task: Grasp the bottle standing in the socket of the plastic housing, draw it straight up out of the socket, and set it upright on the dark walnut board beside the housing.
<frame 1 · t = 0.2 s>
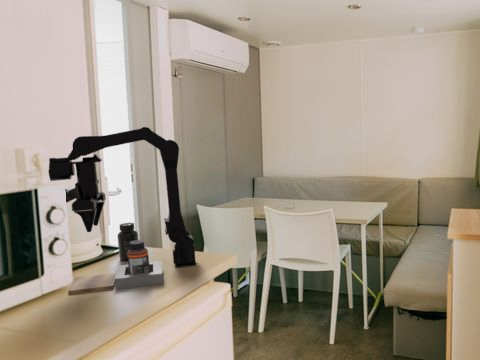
hand: (92, 228, 145), 14 cm above the kitchen counter, fingers open, 9 cm apart
supplement bottle: (130, 258, 162), on the kitchen counter
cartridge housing: (140, 279, 139), on the kitchen counter
walnut board: (94, 284, 136), on the kitchen counter
supplement bottle 2: (140, 280, 139), resting in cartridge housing
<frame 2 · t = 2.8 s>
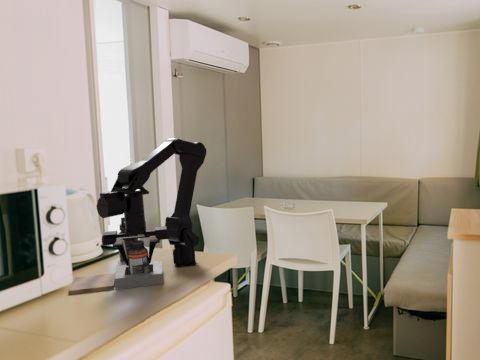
hand: (138, 264, 138), 5 cm above the kitchen counter, fingers closed on supplement bottle 2, 6 cm apart
supplement bottle 2: (140, 280, 139), resting in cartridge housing, touching gripper
everything else where it was.
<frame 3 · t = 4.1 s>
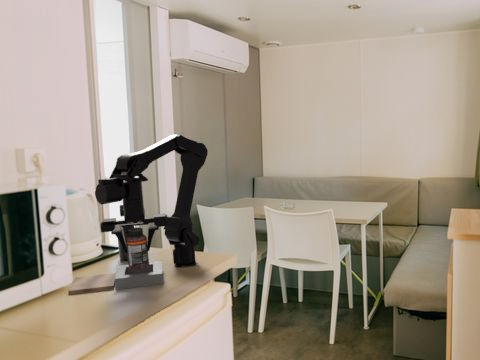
hand: (137, 251, 138), 8 cm above the kitchen counter, fingers closed on supplement bottle 2, 6 cm apart
supplement bottle 2: (139, 267, 138), point 4 cm above the kitchen counter, touching gripper
everything else where it was.
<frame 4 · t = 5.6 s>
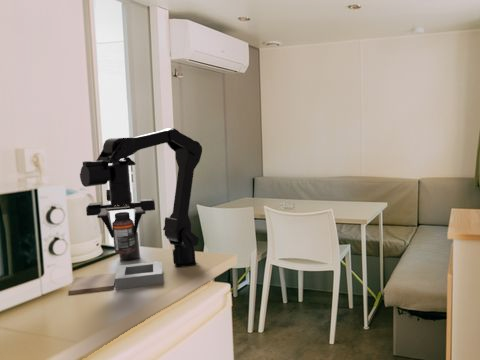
hand: (123, 236, 136), 13 cm above the kitchen counter, fingers closed on supplement bottle 2, 6 cm apart
supplement bottle 2: (125, 252, 137), point 9 cm above the kitchen counter, touching gripper
everything else where it was.
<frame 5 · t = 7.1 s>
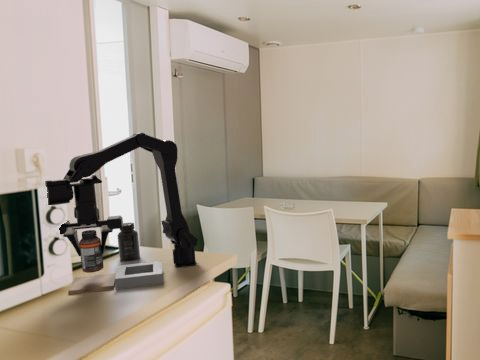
hand: (91, 254, 135), 9 cm above the kitchen counter, fingers closed on supplement bottle 2, 6 cm apart
supplement bottle 2: (93, 270, 136), point 4 cm above the kitchen counter, touching gripper
everything else where it was.
when the fingers open (6 cm above the kitchen counter, at t = 8.5 s): supplement bottle 2 stays where it is, resting on walnut board.
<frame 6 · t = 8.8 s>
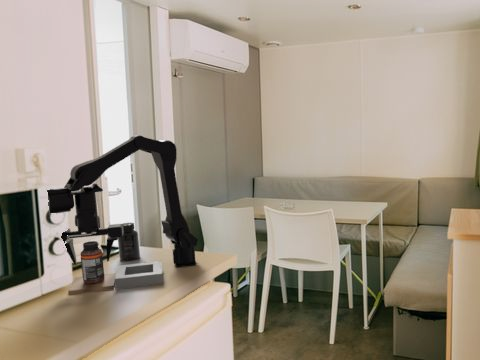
hand: (91, 262, 136), 6 cm above the kitchen counter, fingers open, 9 cm apart
supplement bottle 2: (94, 281, 136), point 1 cm above the kitchen counter, touching walnut board
everything else where it was.
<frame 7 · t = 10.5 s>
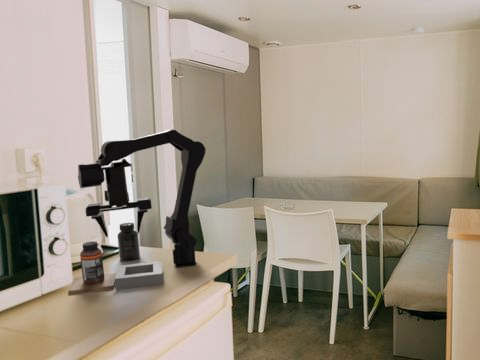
hand: (122, 234, 142), 12 cm above the kitchen counter, fingers open, 9 cm apart
nothing on the kitchen counter moved.
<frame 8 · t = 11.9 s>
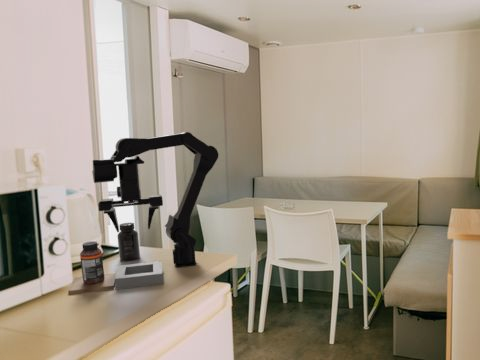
hand: (133, 230, 145), 13 cm above the kitchen counter, fingers open, 9 cm apart
nothing on the kitchen counter moved.
at the end: supplement bottle 2 0.1 cm off-centre on the walnut board, point 0.8 cm above the walnut board's base; supplement bottle 2 tilted 0°; the gripper is holding nothing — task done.
